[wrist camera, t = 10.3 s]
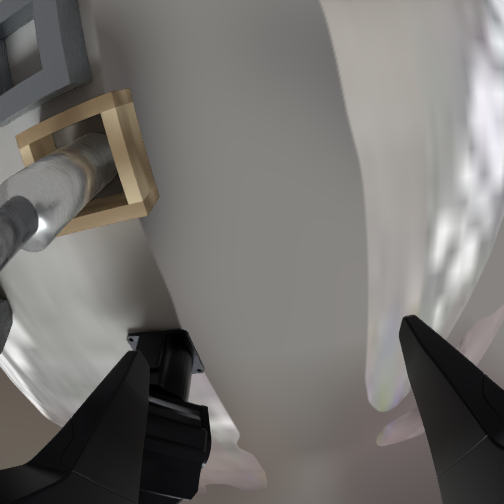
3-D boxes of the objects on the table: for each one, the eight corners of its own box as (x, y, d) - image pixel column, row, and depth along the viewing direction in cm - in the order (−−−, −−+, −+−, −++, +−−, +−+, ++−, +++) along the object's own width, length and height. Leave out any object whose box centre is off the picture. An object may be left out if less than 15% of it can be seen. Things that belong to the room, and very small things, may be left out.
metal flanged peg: (126, 178, 20) (24, 300, 9) (82, 190, 20) (-25, 305, 10) (111, 125, 18) (-24, 207, 7) (65, 142, 18) (-66, 230, 7)
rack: (159, 196, 21) (147, 215, 18) (71, 218, 22) (53, 237, 19) (129, 87, 17) (111, 91, 14) (38, 126, 17) (15, 136, 15)
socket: (92, 80, 16) (70, 83, 14) (5, 125, 17) (-18, 135, 14) (74, -25, 11) (52, -33, 9) (-12, 32, 12) (-36, 34, 10)
